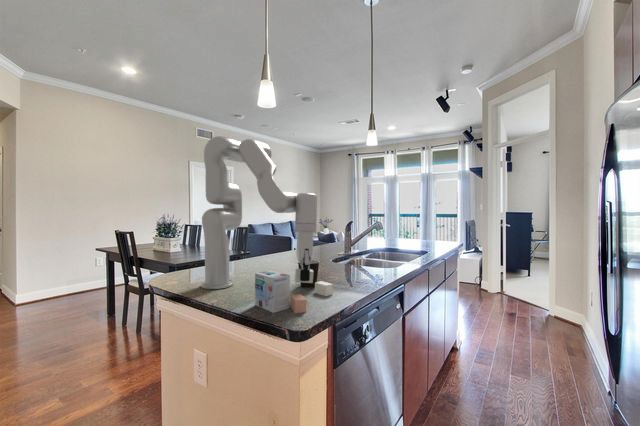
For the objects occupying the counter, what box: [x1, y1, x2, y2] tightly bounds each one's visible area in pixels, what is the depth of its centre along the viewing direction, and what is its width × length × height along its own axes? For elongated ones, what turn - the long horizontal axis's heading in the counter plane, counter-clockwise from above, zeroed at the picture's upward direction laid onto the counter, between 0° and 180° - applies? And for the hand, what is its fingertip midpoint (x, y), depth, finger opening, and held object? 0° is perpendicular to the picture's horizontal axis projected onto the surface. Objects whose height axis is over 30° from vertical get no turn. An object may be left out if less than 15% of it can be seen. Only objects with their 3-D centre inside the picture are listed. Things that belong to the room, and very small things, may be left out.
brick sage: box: [294, 268, 314, 283], centre depth 110 cm, size 6×4×4 cm, turn 99°
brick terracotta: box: [290, 293, 307, 314], centre depth 97 cm, size 6×4×4 cm, turn 20°
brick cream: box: [314, 280, 334, 297], centre depth 115 cm, size 6×4×4 cm, turn 41°
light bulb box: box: [254, 269, 291, 314], centre depth 100 cm, size 11×7×11 cm, turn 44°
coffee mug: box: [297, 259, 320, 289], centre depth 127 cm, size 12×9×10 cm
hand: (304, 278), depth 110 cm, fingers closed on brick sage, 3 cm apart
